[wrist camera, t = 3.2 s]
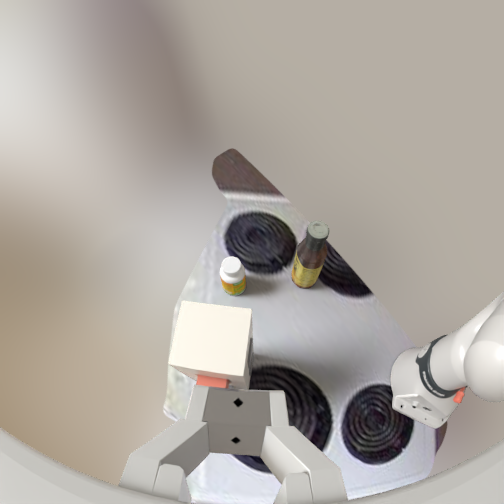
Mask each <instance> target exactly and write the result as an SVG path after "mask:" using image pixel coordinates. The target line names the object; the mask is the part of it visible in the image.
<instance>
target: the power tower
mask: <svg viewBox="0 0 504 504" xmlns="http://www.w3.org/2000/svg"><path fill="white" fill-rule="evenodd" d="M168 364H169V365H171V366H172V367H174V368H175V369H177V370H179V371H180V372H182V373H183V374H185V375H187V376H188V377H190V378H192V379H194V380H195V381H197V377H198V375H203V376H209V377H215V378H222V379H229V380H230V381H229V385H232V386H234V389H244V390H249V384H250V376H251V372H252V364H253V329H252V309H247V308H238V307H229V306H221V305H212V304H204V303H197V302H189V301H182V303H181V307H180V312H179V316H178V320H177V325H176V329H175V334H174V338H173V343H172V348H171V353H170V358H169V363H168Z"/></svg>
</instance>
